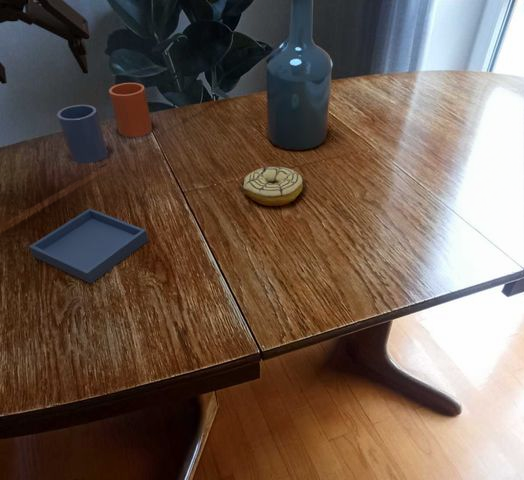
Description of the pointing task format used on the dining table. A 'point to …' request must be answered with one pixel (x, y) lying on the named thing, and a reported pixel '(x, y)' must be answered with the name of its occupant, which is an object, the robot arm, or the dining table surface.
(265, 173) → the decorated donut
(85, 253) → the blue tray
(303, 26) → the wine bottle
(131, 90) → the terracotta cup
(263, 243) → the dining table surface
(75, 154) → the blue cup
